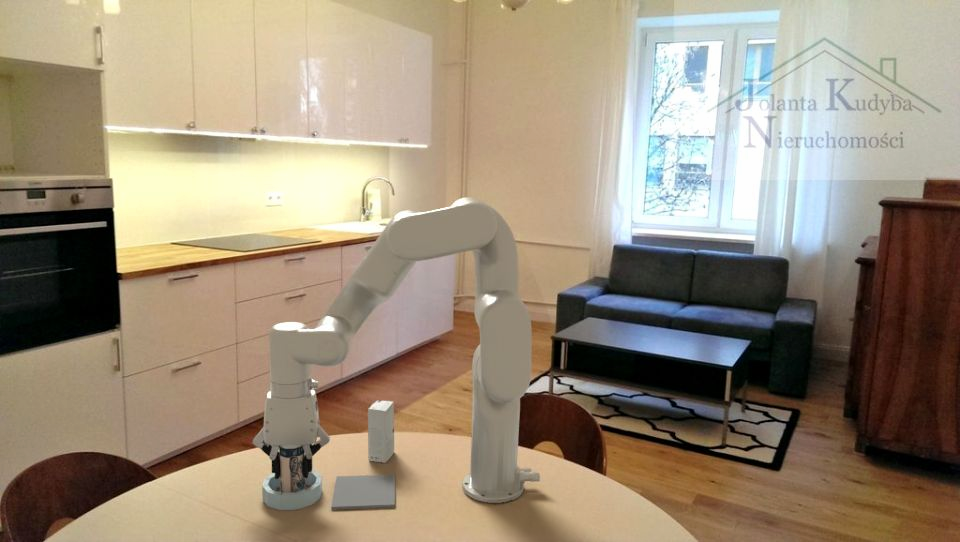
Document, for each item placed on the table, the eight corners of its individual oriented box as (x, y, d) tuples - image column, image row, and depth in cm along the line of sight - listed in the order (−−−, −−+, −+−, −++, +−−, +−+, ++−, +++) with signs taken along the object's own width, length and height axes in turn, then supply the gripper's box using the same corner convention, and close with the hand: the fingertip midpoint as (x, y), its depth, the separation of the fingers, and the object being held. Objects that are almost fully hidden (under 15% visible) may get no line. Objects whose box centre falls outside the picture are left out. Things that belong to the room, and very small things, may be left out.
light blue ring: (324, 480, 137) (324, 467, 136) (318, 508, 126) (318, 494, 125) (269, 482, 135) (268, 468, 135) (258, 511, 125) (257, 496, 124)
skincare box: (386, 463, 145) (386, 411, 143) (366, 461, 146) (367, 409, 144) (395, 451, 151) (395, 401, 149) (376, 449, 152) (376, 399, 150)
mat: (394, 477, 139) (394, 474, 139) (394, 507, 127) (394, 504, 127) (336, 479, 138) (336, 476, 137) (331, 509, 126) (331, 506, 126)
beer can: (298, 503, 128) (297, 444, 126) (275, 499, 129) (274, 441, 127) (309, 490, 133) (308, 434, 130) (287, 487, 133) (286, 431, 131)
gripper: (337, 379, 131) (338, 465, 135) (248, 381, 129) (251, 467, 132) (334, 393, 124) (334, 483, 127) (240, 394, 122) (243, 486, 125)
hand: (292, 474), depth 130 cm, fingers closed on beer can, 4 cm apart
